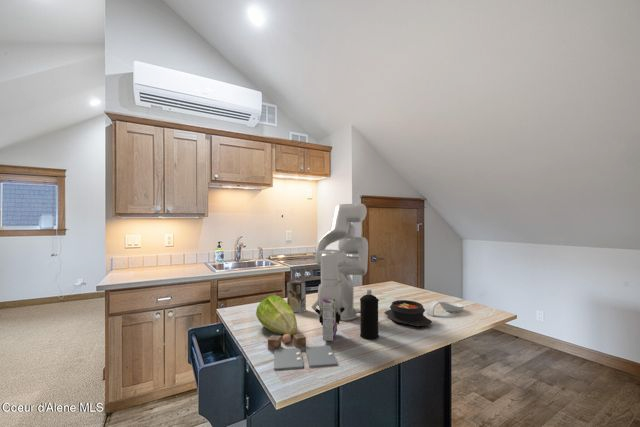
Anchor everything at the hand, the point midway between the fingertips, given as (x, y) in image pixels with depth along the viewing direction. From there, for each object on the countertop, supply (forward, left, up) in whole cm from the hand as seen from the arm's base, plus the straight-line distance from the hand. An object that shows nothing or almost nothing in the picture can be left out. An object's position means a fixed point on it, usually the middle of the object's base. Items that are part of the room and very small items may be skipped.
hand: (329, 323), depth 120 cm
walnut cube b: (+23, +5, -7) cm, 25 cm away
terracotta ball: (+18, +1, -5) cm, 19 cm away
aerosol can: (-18, 0, -7) cm, 19 cm away
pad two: (+18, +15, -7) cm, 25 cm away
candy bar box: (0, 0, -5) cm, 5 cm away
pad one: (+6, +15, -7) cm, 17 cm away
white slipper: (-69, -24, -7) cm, 73 cm away
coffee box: (+11, -39, -7) cm, 41 cm away
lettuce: (+22, -13, -7) cm, 26 cm away
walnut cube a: (+13, +5, -7) cm, 16 cm away
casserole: (-43, -15, -7) cm, 46 cm away
